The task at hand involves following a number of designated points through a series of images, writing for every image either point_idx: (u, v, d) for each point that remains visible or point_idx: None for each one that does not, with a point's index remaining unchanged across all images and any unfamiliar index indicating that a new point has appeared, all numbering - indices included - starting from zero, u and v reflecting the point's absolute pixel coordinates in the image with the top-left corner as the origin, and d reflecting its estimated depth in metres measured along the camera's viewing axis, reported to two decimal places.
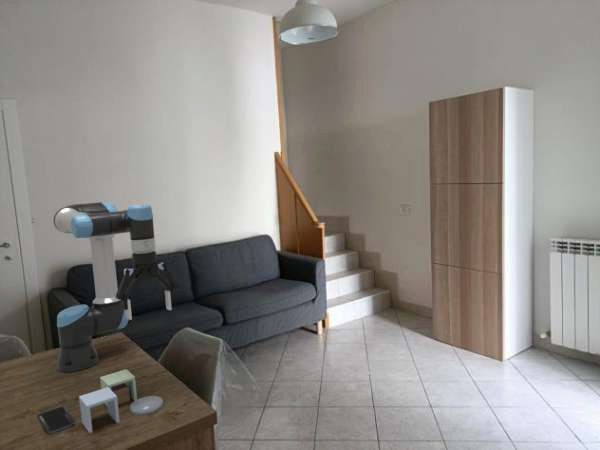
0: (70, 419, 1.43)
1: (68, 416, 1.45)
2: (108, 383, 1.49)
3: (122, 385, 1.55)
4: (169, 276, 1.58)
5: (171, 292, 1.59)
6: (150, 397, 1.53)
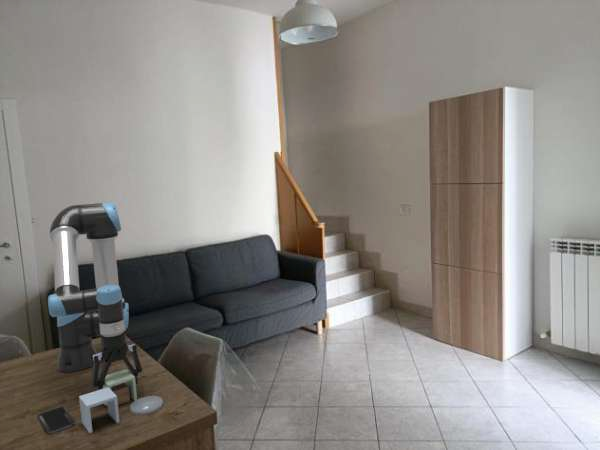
0: (70, 419, 1.43)
1: (68, 416, 1.45)
2: (108, 383, 1.49)
3: (122, 385, 1.55)
4: (136, 359, 1.56)
5: (136, 377, 1.57)
6: (150, 397, 1.53)
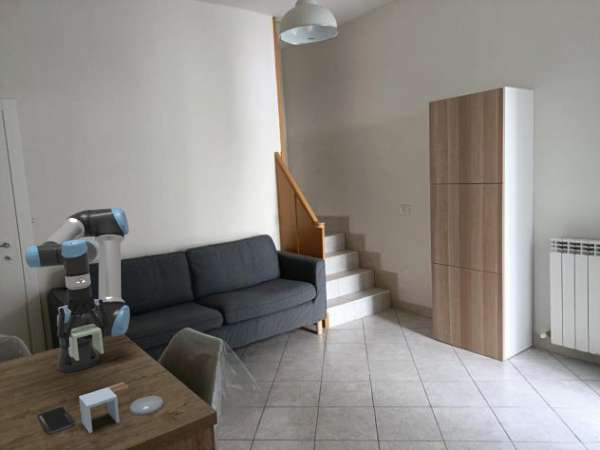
0: (70, 419, 1.43)
1: (68, 416, 1.45)
2: (74, 335, 1.52)
3: (122, 385, 1.55)
4: (103, 313, 1.59)
5: (102, 330, 1.60)
6: (150, 397, 1.53)
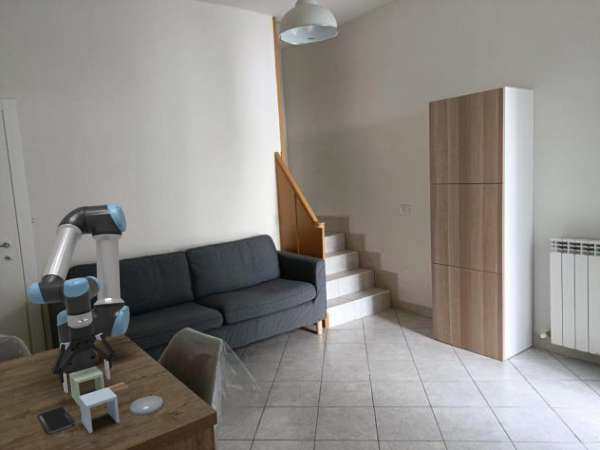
0: (70, 419, 1.43)
1: (68, 416, 1.45)
2: (76, 379, 1.53)
3: (122, 385, 1.54)
4: (107, 346, 1.61)
5: (110, 361, 1.62)
6: (150, 397, 1.53)
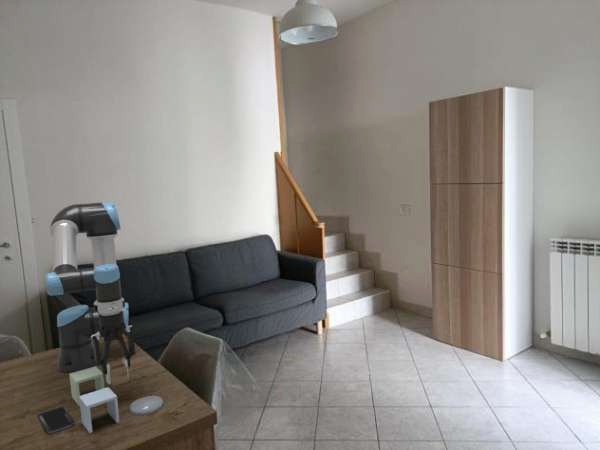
0: (70, 419, 1.43)
1: (68, 416, 1.45)
2: (76, 379, 1.53)
3: (120, 366, 1.54)
4: (131, 341, 1.55)
5: (128, 360, 1.55)
6: (150, 397, 1.53)
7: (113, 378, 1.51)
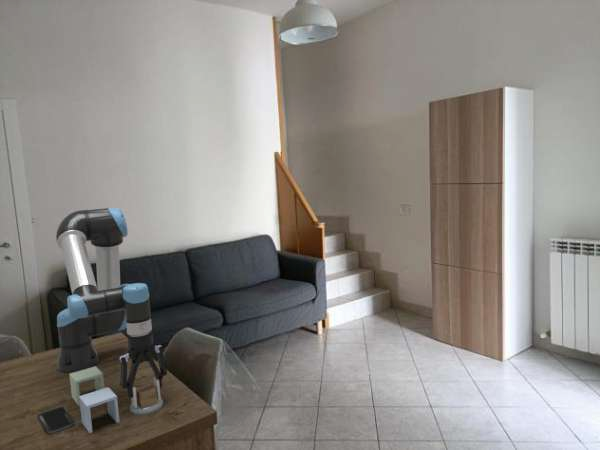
0: (70, 419, 1.43)
1: (68, 416, 1.45)
2: (76, 379, 1.53)
3: (149, 387, 1.49)
4: (162, 361, 1.50)
5: (160, 380, 1.51)
6: None
7: (142, 401, 1.45)
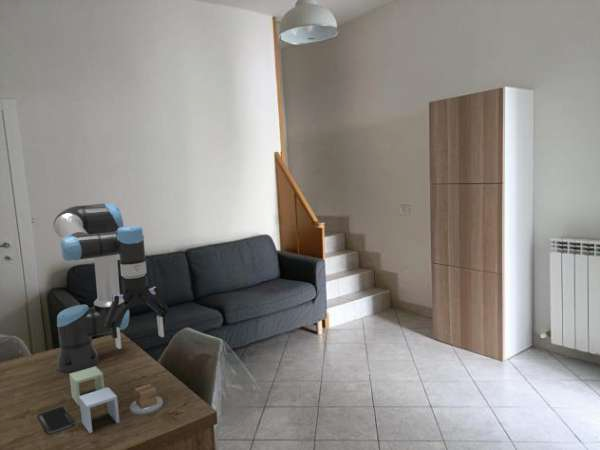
0: (70, 419, 1.43)
1: (68, 416, 1.45)
2: (76, 379, 1.53)
3: (149, 387, 1.49)
4: (161, 301, 1.49)
5: (163, 318, 1.51)
6: None
7: (142, 401, 1.45)
